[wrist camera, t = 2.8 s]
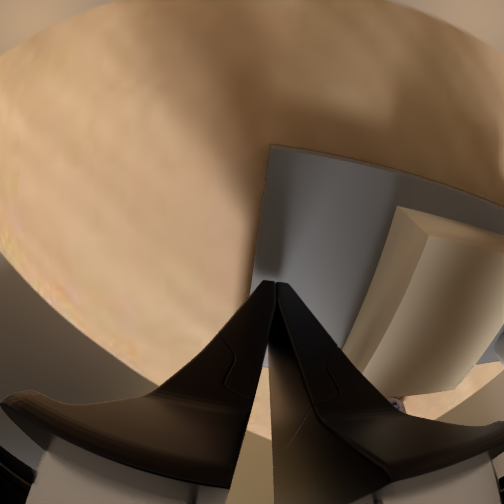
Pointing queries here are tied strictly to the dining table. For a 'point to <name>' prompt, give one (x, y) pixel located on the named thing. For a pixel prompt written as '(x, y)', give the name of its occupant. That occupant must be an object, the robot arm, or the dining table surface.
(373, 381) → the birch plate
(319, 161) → the board
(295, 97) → the dining table surface
